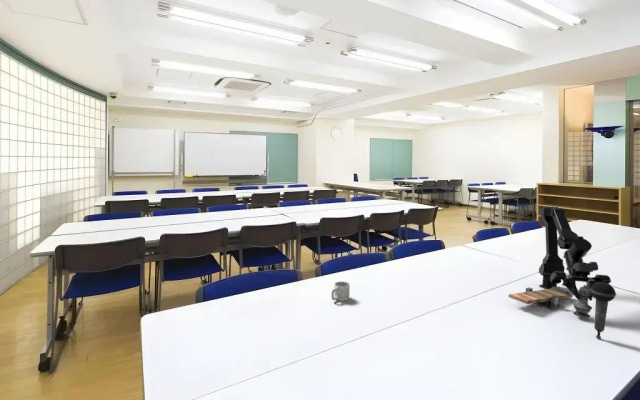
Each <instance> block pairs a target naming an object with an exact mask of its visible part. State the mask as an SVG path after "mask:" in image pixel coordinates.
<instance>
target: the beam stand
mask: <svg viewBox="0 0 640 400" xmlns="http://www.w3.org/2000/svg"><path fill="white" fill-rule="evenodd" d="M530 291H534V288H532V287H530V286H529V287H526V288H525V292H530ZM535 304H536V306H537V307H538V306H539V307H541V308H543V307H544V309H547V310H549V311H552V312H553V311H557V310H560V309H563V308H564V307H565V305H564V304H561V303H559V299H558V297H557V296H552V297H551V300H550V301H544V302H538V303H533V305H535Z"/></svg>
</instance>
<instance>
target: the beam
mask: <svg viewBox="0 0 640 400" xmlns="http://www.w3.org/2000/svg"><path fill="white" fill-rule="evenodd" d="M559 287H560V286H558V287H556V286H555V287H552V288H551V289H546V288H543V289H538V290H533V291H530V292H526V291H524V292H517V293H516V292H515V293H510V294H508V298H510V299H513V300H514V301H517V302H520V303H522V304H524V305H525V304H526V305H529V304H530V305H531V304H532V303H538V302H544V301H551V297H552V296H557V297H558V300H562V299H567V298H573V296H574V295H573V294H572V293H570V292H571V291H570V290H569V289H565V288H562V287H560V288H559Z"/></svg>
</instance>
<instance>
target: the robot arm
mask: <svg viewBox="0 0 640 400" xmlns="http://www.w3.org/2000/svg"><path fill="white" fill-rule="evenodd" d="M539 216H540V220H541V222H542V223H543V224H544V226H545V227H544V229H545V256H544V257H543V259H542V263H541V264H540V266H539V268H538V273H539V275H541V276H542V283H541V284H539V285H538V286H539V287H540V288H543V289H551V288H552V287H555V286H556V287H559V288H561V287H560V286H559V284H561V285H562V286H563V287H566V289H567V290H569V291H570V292H571V294H573V295H572V296H574V297H575V299H577V301H578V300H579V299H580V297H579V289H578V288H577V283H576V282H583V283H585V284H586V285H585V287H586V288H588V290H589V292H588V297H589V298H588V301H592V300H593V298H594V297H593V296H592V294H591V291H590V288H591V286H592V285H593V284H595V283H597V282H605V283H608V284H611V282H612V279H611V277H610V276H609V275H608V274H597V273H596V275H595V276H594V277H593V276H592V277H591V276H590V275H591V273H593V272H594V271H598V270H599V265H598V263H597V261H590V262H585V261H584V259H583V258H584V257H586V255H587V254H588V253H589V251H591V249H592V243H591V242H590V241H589V240H587V239H585V238H584V236H582V235H581V236H580V235H578V234H577V233H576V232H574V231H573V229H572V228H571V226H570V222H569V221H568V218H567V215H566V210H565V208H561V207H560V208H559V207H558V206H542V208H540V209H539ZM559 248H560V250H565V251H564V252H563V258H564V259H563V258H562V257H560V255H559ZM564 260H565V262H566V268H565V265H564ZM565 269H566V271H568V274H567V273H566V272H565Z"/></svg>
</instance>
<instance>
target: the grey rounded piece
mask: <svg viewBox="0 0 640 400" xmlns="http://www.w3.org/2000/svg"><path fill="white" fill-rule="evenodd" d="M585 286H586V285H585V284H584V285H582V286H580V287H579V289H578V293H579V297H580V299H579V300H578V299H577V302H573V303H572V306H573V308H574V311H573V312H572V313H573V315H574V316H577V317H580V318H585V319H588V318H590V317H591V315H590V314H589V313H590V312H591V310H592V309H593V307H592V306H591V305H590V304H589V297H588V292H589V290H588V288H586V287H585Z"/></svg>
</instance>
